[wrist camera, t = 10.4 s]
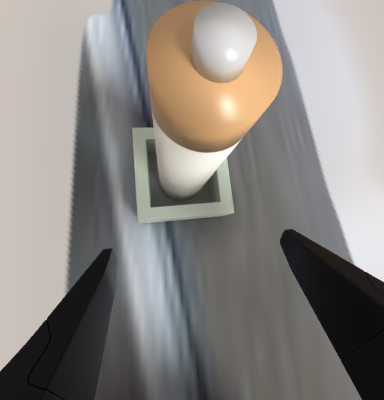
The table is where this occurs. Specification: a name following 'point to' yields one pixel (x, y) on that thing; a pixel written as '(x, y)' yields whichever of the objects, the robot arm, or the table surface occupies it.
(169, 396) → the table surface
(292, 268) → the robot arm
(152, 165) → the frame
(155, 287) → the table surface
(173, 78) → the cell
